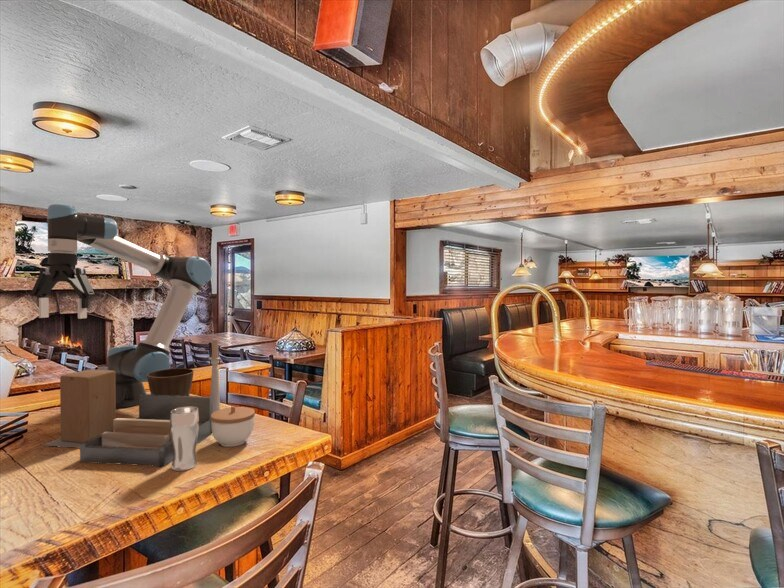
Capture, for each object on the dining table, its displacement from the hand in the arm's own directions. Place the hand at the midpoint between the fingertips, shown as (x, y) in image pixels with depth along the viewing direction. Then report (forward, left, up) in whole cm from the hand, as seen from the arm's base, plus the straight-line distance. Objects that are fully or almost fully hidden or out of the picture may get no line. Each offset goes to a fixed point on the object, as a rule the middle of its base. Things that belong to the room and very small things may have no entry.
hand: (63, 318), depth 133 cm
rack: (+10, +38, -37) cm, 54 cm away
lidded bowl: (+4, +60, -37) cm, 71 cm away
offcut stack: (+16, +38, -37) cm, 55 cm away
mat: (+6, +14, -37) cm, 40 cm away
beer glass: (+21, +55, -37) cm, 69 cm away
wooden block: (+6, +14, -36) cm, 40 cm away
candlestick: (-11, +46, -37) cm, 60 cm away
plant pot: (-17, +26, -37) cm, 48 cm away
